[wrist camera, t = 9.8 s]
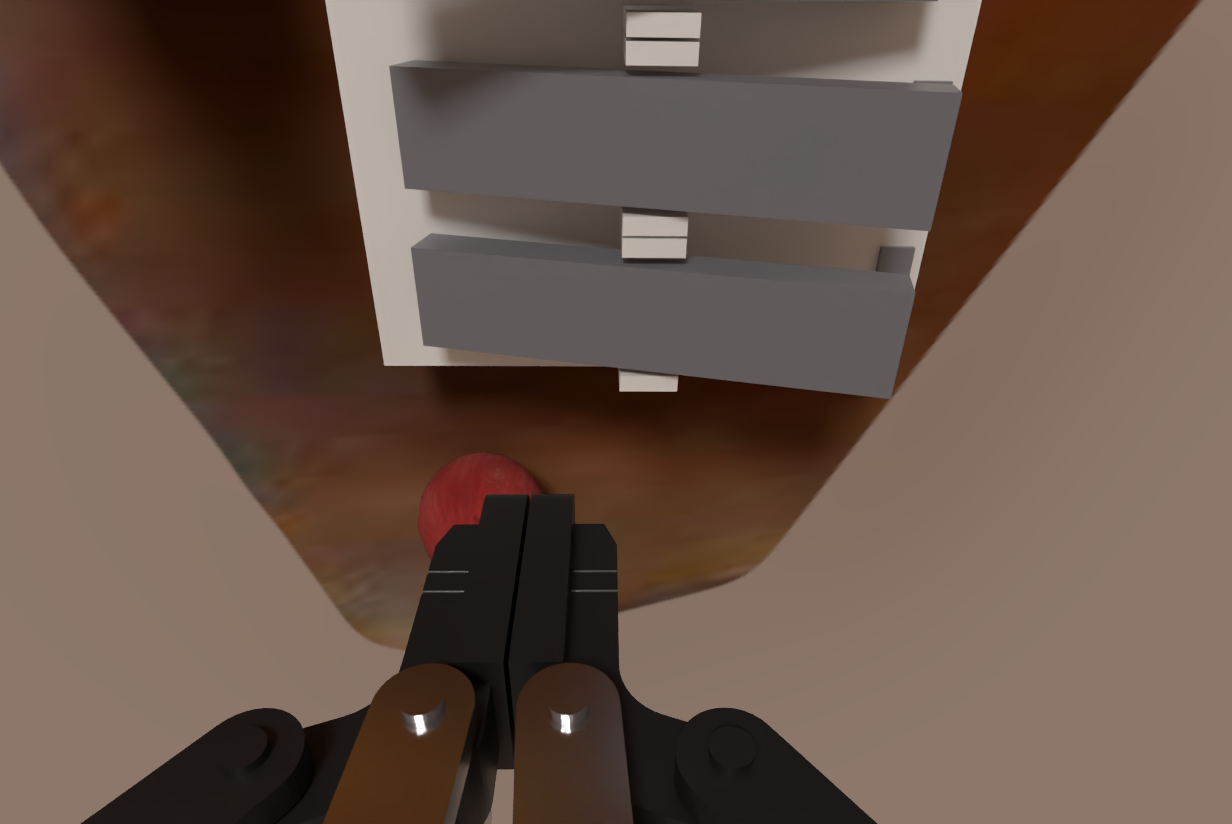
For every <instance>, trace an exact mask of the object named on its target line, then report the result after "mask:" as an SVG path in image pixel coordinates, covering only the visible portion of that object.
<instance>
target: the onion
mask: <svg viewBox="0 0 1232 824" xmlns="http://www.w3.org/2000/svg"><path fill="white" fill-rule="evenodd" d="M487 494H529V496H530V500H531V495H532V494H542V491H541V489H540V486H539V484H538V482H537V481H536V480H535V479H534V478H533V477H532V476H531V474H530V473H529V472H528V471H527V470H526V469H525V468H524V467H523V466H522V465H520V464H519V463H517V462H515V461H514V460H512V459H510V458H508V457H506V456H504V455H501V454H495V453H488V452H479V453H472V454H466V455H463V456H461V457H459V458H457V459H455V460H453V461H452V462H450V463H448V464H447V465H445V466H443V467H442V468H440V469H439V470H438V471H437V472H436V474H435V475H434V477H433V478H432V479H431V481H430V482H429V484H428V485H427V487H426V489H425V491H424V492H423V494H422V496H421V504H420V512H419V519H418V529H419V533H420V536H421V539H422V542H423V544H424V547H425V550H426V552H427V554H428V556H429V557H430V559H431V560H432V557H433V553H434V550H435V546H436V544H437V543H438V542H439V541H440V540H441V539H442V538H443V537H444V535H445V534H446V533H447V532H448V531H449V530H450V529H451V527H452V526H453V525H454V524H479V521H480V516H481V512H482V507H483V503H484V498H485V496H486V495H487Z"/></svg>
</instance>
